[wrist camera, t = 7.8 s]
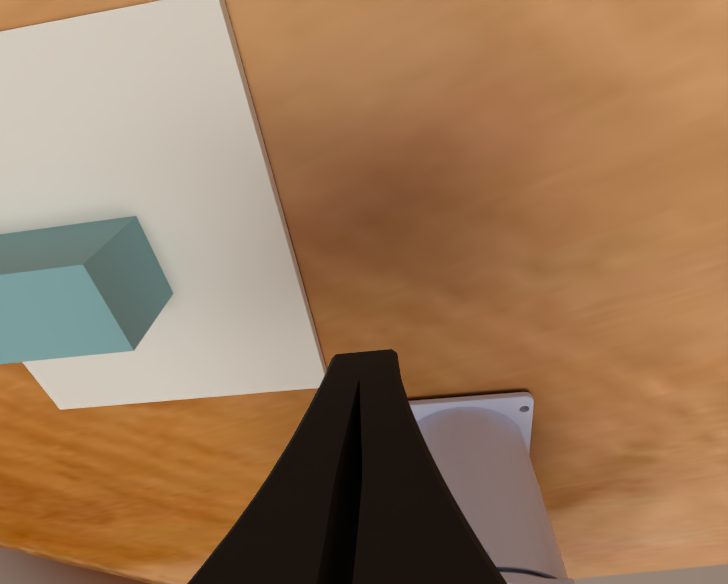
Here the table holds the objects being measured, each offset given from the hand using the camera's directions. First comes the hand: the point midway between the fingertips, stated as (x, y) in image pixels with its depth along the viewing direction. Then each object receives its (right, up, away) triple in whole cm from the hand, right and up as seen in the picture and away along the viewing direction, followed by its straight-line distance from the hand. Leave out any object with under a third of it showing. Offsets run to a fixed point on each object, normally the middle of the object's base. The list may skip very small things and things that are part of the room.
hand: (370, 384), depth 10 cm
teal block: (-9, +2, +8) cm, 13 cm away
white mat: (-11, +4, +10) cm, 16 cm away
